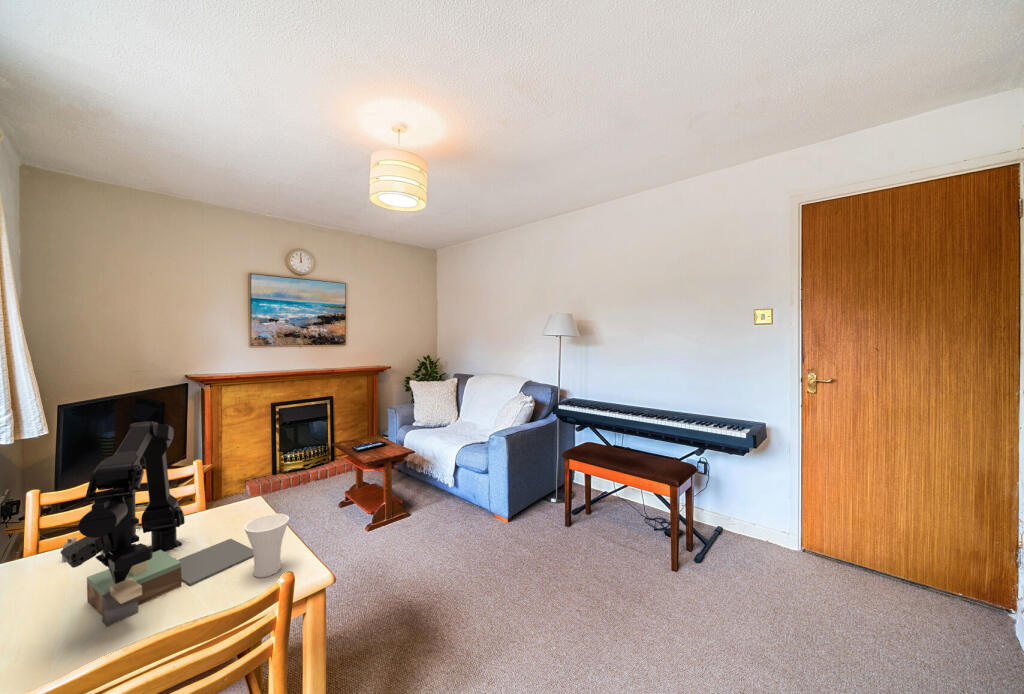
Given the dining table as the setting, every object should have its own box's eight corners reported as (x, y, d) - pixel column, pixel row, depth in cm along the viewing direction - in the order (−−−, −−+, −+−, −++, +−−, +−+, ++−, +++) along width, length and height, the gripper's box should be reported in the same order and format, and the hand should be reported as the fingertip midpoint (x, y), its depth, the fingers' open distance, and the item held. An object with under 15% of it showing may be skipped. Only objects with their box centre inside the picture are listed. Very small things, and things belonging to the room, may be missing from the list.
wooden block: (110, 594, 88) (110, 586, 88) (131, 586, 91) (131, 577, 91) (120, 603, 85) (120, 594, 85) (142, 594, 88) (141, 585, 88)
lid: (86, 582, 94) (86, 560, 94) (160, 554, 106) (160, 535, 106) (105, 598, 88) (105, 576, 88) (181, 566, 101) (180, 547, 100)
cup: (240, 570, 107) (239, 522, 107) (282, 555, 115) (282, 510, 115) (250, 587, 100) (250, 535, 100) (295, 570, 108) (294, 521, 108)
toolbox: (83, 603, 94) (83, 578, 94) (161, 572, 107) (160, 550, 106) (107, 626, 87) (106, 599, 86) (187, 589, 99) (186, 566, 99)
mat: (162, 568, 108) (162, 565, 108) (230, 540, 123) (230, 538, 123) (189, 586, 101) (189, 584, 101) (259, 554, 116) (259, 552, 116)
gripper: (52, 521, 86) (53, 591, 87) (80, 544, 77) (81, 621, 78) (120, 503, 96) (121, 566, 97) (153, 521, 87) (153, 590, 87)
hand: (118, 584), depth 89 cm, fingers closed
